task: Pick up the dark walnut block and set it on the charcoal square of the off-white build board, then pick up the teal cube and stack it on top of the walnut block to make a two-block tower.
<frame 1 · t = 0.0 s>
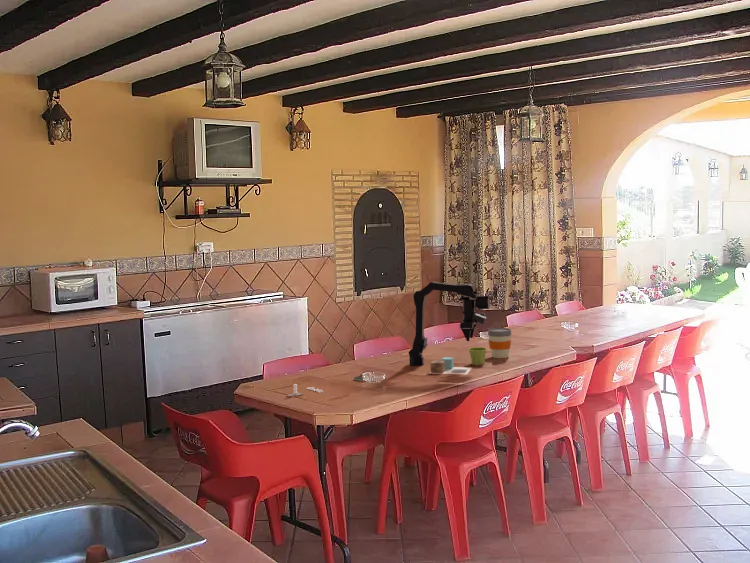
hand: (469, 339, 386), 15 cm above the table, tool pointing down, fingers open, 9 cm apart
walnut block: (438, 371, 377), point 1 cm above the table, touching build board
reusable coffee cup: (500, 357, 413), on the table
teal cube: (447, 368, 385), point 1 cm above the table, touching build board
build board: (450, 372, 379), on the table
plant pot: (478, 365, 393), on the table
game pieces: (327, 388, 357), on the table
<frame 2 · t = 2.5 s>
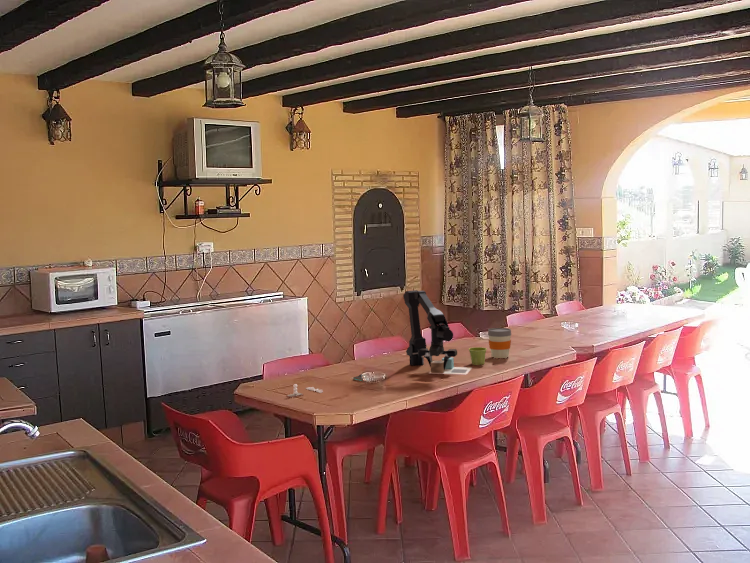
hand: (438, 369, 377), 2 cm above the table, tool pointing down, fingers closed on walnut block, 6 cm apart
walnut block: (438, 371, 377), point 1 cm above the table, touching build board, gripper
everything else where it was.
when the fingers open (4 cm above the table, at t = 6.4 s): walnut block drops 1 cm, resting on build board.
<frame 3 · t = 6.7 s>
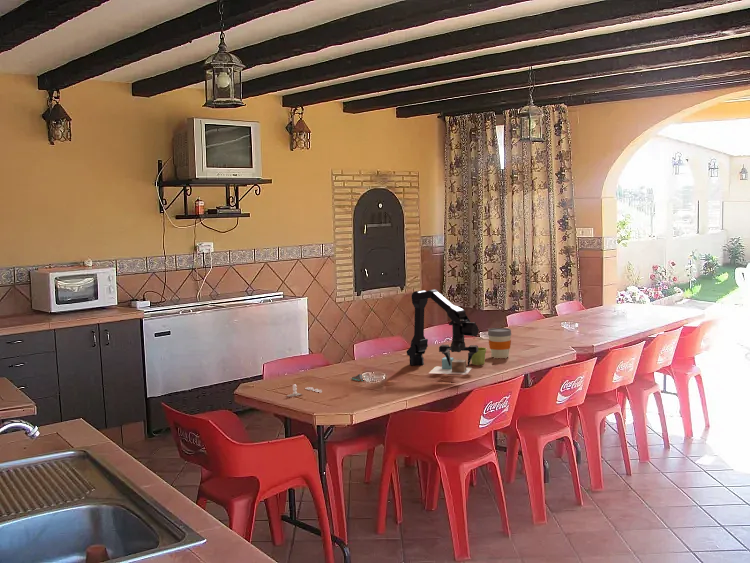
hand: (459, 365, 377), 4 cm above the table, tool pointing down, fingers open, 9 cm apart
walnut block: (459, 370, 377), point 1 cm above the table, touching build board
everything else where it was.
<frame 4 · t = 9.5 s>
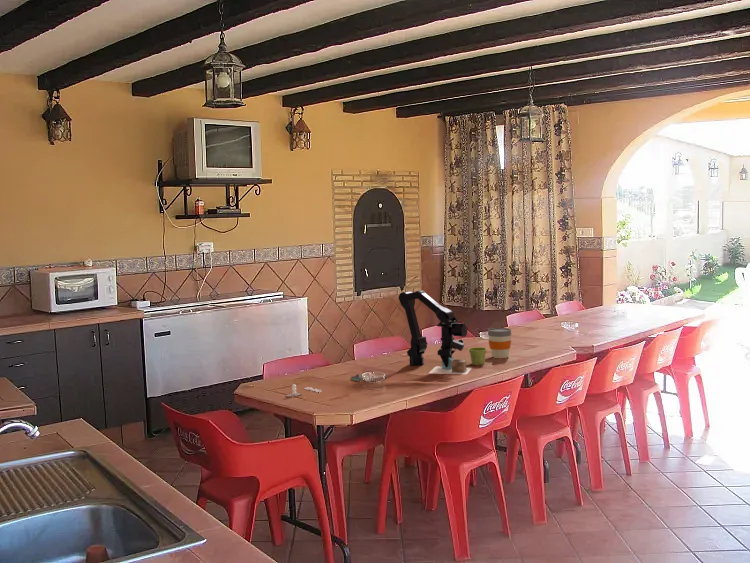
hand: (447, 366, 385), 2 cm above the table, tool pointing down, fingers closed on teal cube, 5 cm apart
teal cube: (447, 368, 385), point 1 cm above the table, touching build board, gripper
when the fingers open (8 cm above the table, at t = 12.5 s): teal cube drops 1 cm, resting on walnut block.
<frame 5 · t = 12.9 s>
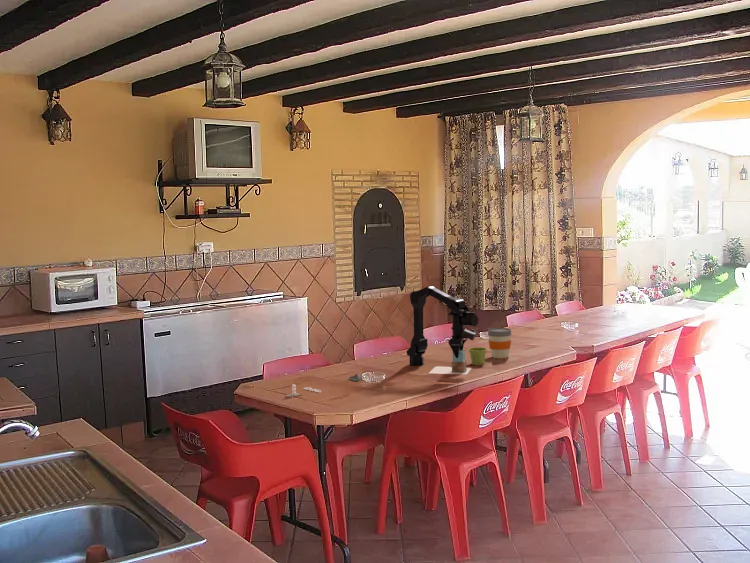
hand: (458, 356, 376), 8 cm above the table, tool pointing down, fingers open, 9 cm apart
walnut block: (459, 370, 377), point 1 cm above the table, touching build board, teal cube
teal cube: (458, 360, 376), point 6 cm above the table, touching walnut block
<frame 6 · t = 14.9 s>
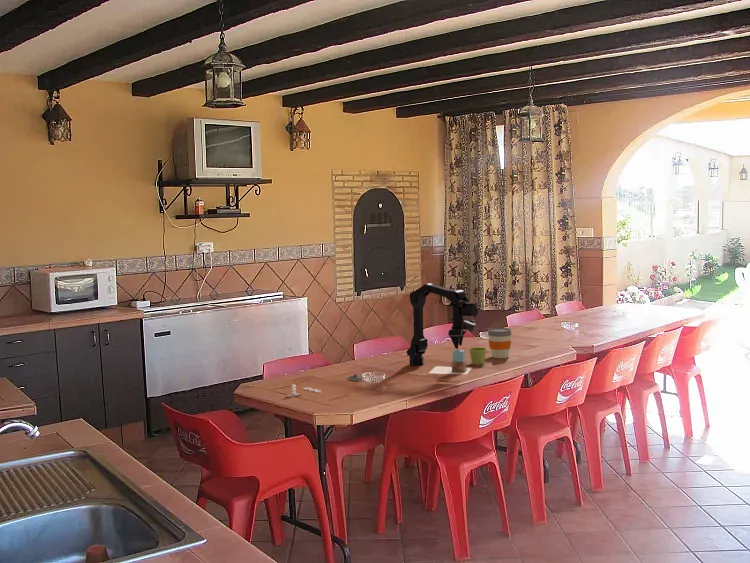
hand: (458, 347, 376), 13 cm above the table, tool pointing down, fingers open, 9 cm apart
at the end: walnut block 0.0 cm from the target spot, point 1.1 cm above the table; teal cube 0.1 cm off-centre on the walnut block, point 5.0 cm above the walnut block's base; teal cube tilted 0° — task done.
